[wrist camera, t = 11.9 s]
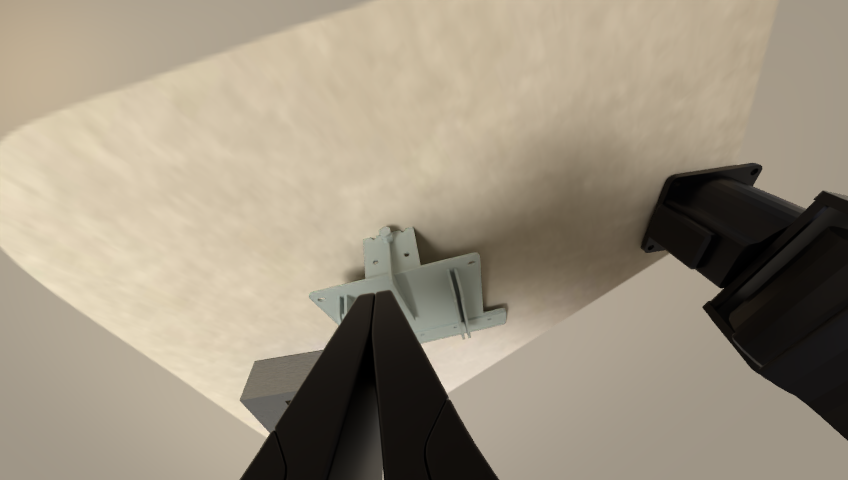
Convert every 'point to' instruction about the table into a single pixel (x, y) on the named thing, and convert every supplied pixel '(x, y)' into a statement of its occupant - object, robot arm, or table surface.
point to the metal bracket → (417, 288)
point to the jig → (275, 385)
